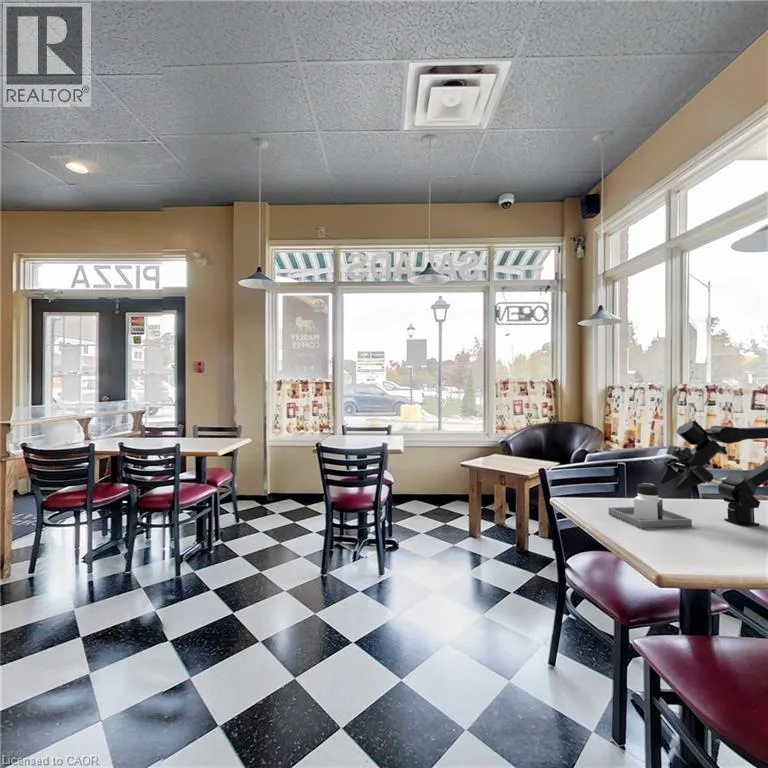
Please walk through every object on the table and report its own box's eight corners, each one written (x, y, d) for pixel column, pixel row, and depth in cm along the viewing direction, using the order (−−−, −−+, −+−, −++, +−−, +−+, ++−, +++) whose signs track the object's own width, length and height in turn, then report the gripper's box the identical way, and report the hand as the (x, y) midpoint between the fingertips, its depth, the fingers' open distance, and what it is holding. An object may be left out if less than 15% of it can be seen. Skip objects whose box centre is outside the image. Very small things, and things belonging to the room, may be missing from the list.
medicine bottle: (658, 523, 130) (657, 487, 130) (634, 518, 135) (632, 484, 135) (663, 518, 135) (661, 484, 135) (639, 514, 140) (638, 481, 140)
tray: (654, 512, 143) (654, 506, 143) (692, 527, 127) (691, 519, 127) (608, 514, 142) (608, 507, 142) (640, 529, 126) (640, 521, 126)
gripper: (666, 435, 143) (636, 465, 144) (701, 440, 125) (666, 474, 126) (691, 456, 142) (660, 486, 143) (729, 465, 124) (693, 499, 125)
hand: (668, 486), depth 134 cm, fingers open, 9 cm apart
